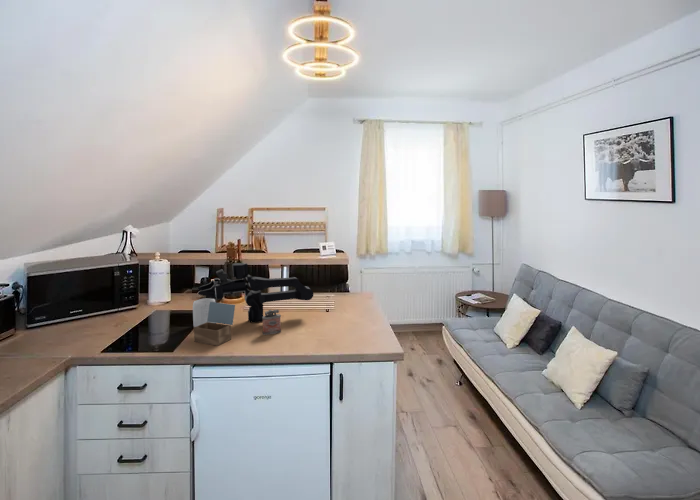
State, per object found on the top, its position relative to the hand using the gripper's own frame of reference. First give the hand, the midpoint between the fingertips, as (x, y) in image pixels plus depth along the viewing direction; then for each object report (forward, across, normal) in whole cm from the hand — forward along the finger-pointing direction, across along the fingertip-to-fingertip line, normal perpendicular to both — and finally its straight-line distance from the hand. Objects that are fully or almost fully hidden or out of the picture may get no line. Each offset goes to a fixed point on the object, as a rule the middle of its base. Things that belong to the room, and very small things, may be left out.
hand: (198, 290), depth 190 cm
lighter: (-28, +20, +18) cm, 39 cm away
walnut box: (-4, +22, +17) cm, 28 cm away
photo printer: (-1, -1, +17) cm, 17 cm away
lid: (-8, +18, +7) cm, 21 cm away
